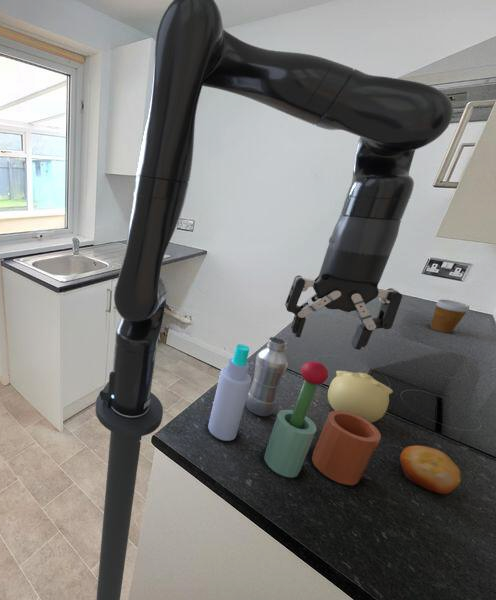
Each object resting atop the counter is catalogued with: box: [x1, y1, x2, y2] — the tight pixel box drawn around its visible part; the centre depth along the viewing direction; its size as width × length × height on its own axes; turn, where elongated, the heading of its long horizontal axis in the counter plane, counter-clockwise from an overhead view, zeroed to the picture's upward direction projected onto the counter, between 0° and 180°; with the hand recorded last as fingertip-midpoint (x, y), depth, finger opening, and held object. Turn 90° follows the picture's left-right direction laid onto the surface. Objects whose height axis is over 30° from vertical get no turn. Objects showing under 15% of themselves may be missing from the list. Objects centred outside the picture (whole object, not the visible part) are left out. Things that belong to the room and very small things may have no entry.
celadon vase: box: [263, 409, 317, 478], centre depth 61 cm, size 6×6×11 cm
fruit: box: [399, 444, 462, 495], centre depth 60 cm, size 8×8×8 cm
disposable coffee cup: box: [430, 299, 470, 334], centre depth 129 cm, size 10×10×12 cm
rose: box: [289, 360, 329, 429], centre depth 59 cm, size 4×4×23 cm
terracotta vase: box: [311, 410, 382, 486], centre depth 61 cm, size 8×8×11 cm
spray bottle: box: [207, 344, 252, 442], centre depth 67 cm, size 6×6×22 cm
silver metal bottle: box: [245, 336, 289, 417], centre depth 74 cm, size 6×7×20 cm
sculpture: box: [327, 370, 394, 424], centre depth 77 cm, size 11×12×11 cm
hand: (325, 341), depth 53 cm, fingers open, 8 cm apart
